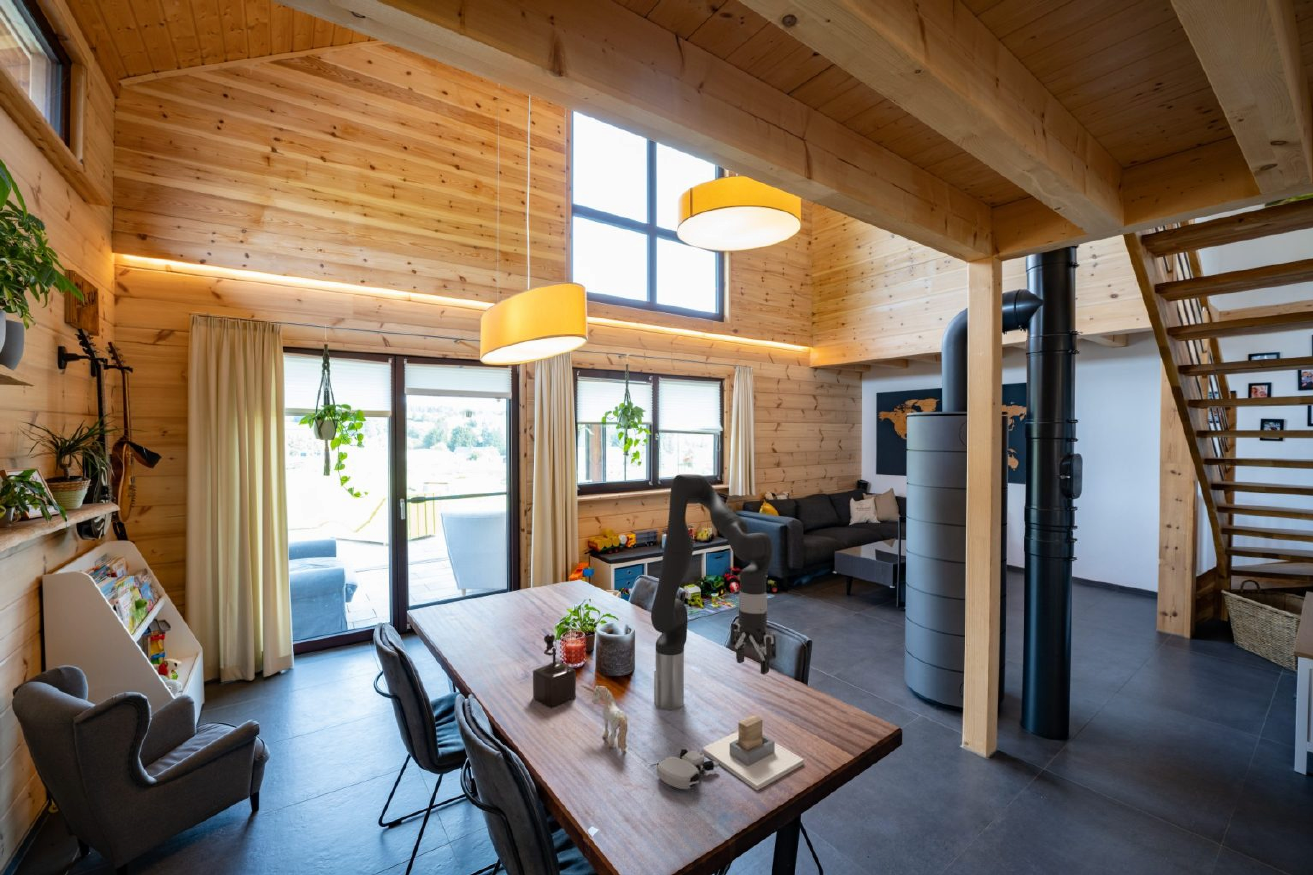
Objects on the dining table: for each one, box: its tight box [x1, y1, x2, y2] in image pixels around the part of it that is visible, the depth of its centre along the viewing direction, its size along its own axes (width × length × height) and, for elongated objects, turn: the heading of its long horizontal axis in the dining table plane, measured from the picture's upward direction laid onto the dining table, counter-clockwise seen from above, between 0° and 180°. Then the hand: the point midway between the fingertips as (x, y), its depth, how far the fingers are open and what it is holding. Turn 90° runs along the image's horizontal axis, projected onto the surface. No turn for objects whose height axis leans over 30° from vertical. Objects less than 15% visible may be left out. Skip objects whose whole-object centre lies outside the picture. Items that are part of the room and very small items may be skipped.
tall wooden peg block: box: [738, 714, 763, 752], centre depth 144 cm, size 3×6×9 cm, turn 127°
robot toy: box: [649, 748, 719, 790], centre depth 137 cm, size 12×4×15 cm
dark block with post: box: [532, 633, 577, 709], centre depth 180 cm, size 16×11×18 cm
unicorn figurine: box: [580, 684, 628, 752], centre depth 153 cm, size 7×20×13 cm, turn 43°
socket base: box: [701, 730, 805, 791], centre depth 145 cm, size 18×20×4 cm
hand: (752, 667), depth 145 cm, fingers open, 8 cm apart
